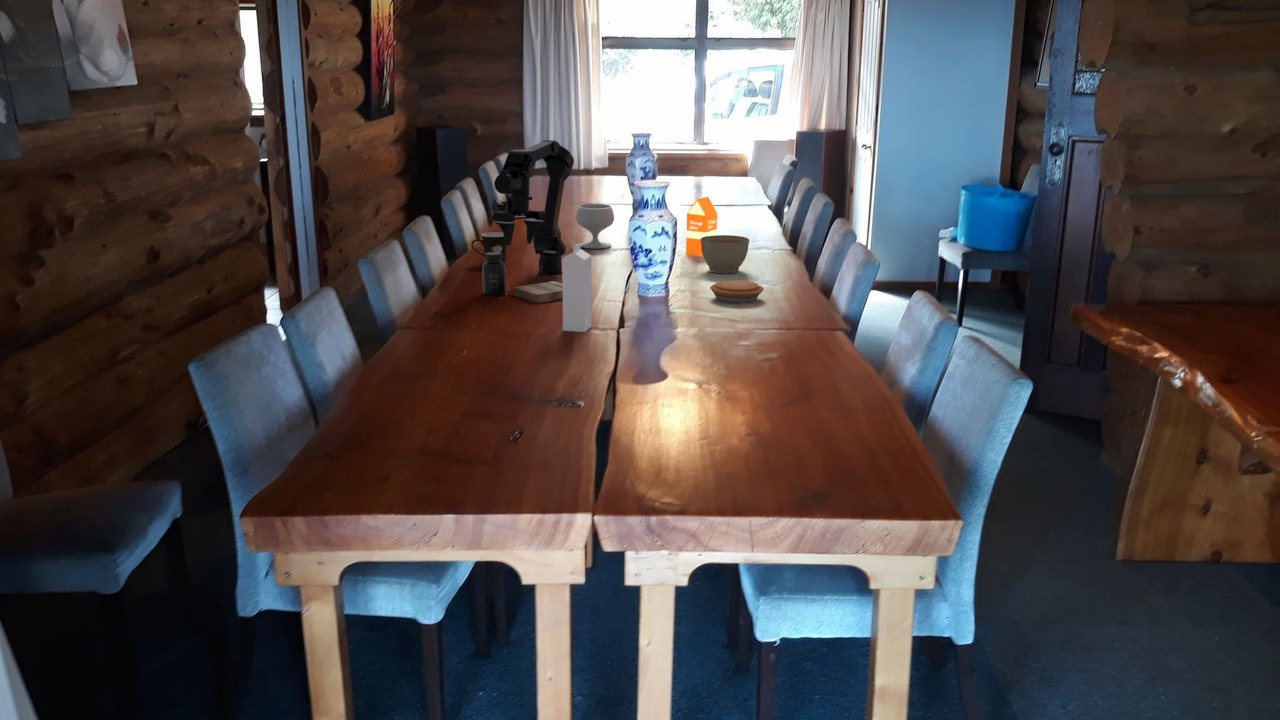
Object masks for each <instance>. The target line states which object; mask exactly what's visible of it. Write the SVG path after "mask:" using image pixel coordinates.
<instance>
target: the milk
mask: <svg viewBox="0 0 1280 720" xmlns="http://www.w3.org/2000/svg"><path fill="white" fill-rule="evenodd" d="M580 244H581V243H580V242H579V243H576V245H574V246H572V253H569V254H568V255H566V256H564V257H562V258H561V271H562V273H561V274H562V275H561V276H562V277H561V278H562V284H563V299H562V331H564V332H576V333H586V332H587V331H588V330H589V329H591V327H592V255H591V254H589V253H588V252H587V251H585V250H583V249H581V248H582V247H581V246H580Z"/></svg>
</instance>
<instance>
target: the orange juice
mask: <svg viewBox="0 0 1280 720" xmlns="http://www.w3.org/2000/svg"><path fill="white" fill-rule="evenodd" d="M717 226H718V212H717V211H716V208H715V207H714V204H713V203H712V202H711V199H710V198H709V196H704V197H701V198H696V200H695V201H694V202H693V204H692V205H691V207H690V208H689V210H688V211H687V212H686V230H685V231H686V232H685V233H686V236H685V238H686V239H685V240H686V241H685V242H686V243H685V255H689V254H694V255H693V256H696V255H702V256H701V257H703V254H702V250H701V242H700V239H701V238H702V237H705V236H714V235H717V233H718V231H717V230H718V227H717Z"/></svg>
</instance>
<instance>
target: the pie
mask: <svg viewBox="0 0 1280 720" xmlns="http://www.w3.org/2000/svg"><path fill="white" fill-rule="evenodd" d="M709 289H710V290H711V291H712V292H713V295H714V296H715V298H716V300H718V302H721V303H726V304H733V305H734V304H735V305H742V304H741V303H746V304H751V303H754V302H755V301H756V300H757V299H758V298H759V295H760V294H762V293H763V291H764V289H765V288H764V287H763V286H761V285H759V284H758V283H756V282H753V281H748V280H740V279H735V280H734V279H730V280H721V281H717V282H715V283H714V284H712V285H711V286H710V287H709ZM753 301H754V302H753ZM750 302H751V303H750Z"/></svg>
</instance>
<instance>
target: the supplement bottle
mask: <svg viewBox="0 0 1280 720" xmlns="http://www.w3.org/2000/svg"><path fill="white" fill-rule="evenodd" d="M484 255H485V257H484V260H485V262H484V263H483V264H482V266H481V268H482V269H481V270H482V289H483V290H482V292H483V294H484V295H487V296H503V295H505V294H506V293H507V273H506V268H507V267H506V263H505V264H504V263H503V262H502V261H501V260H502V254H501V253H499V252H489V253H486V254H485V253H484Z"/></svg>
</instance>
